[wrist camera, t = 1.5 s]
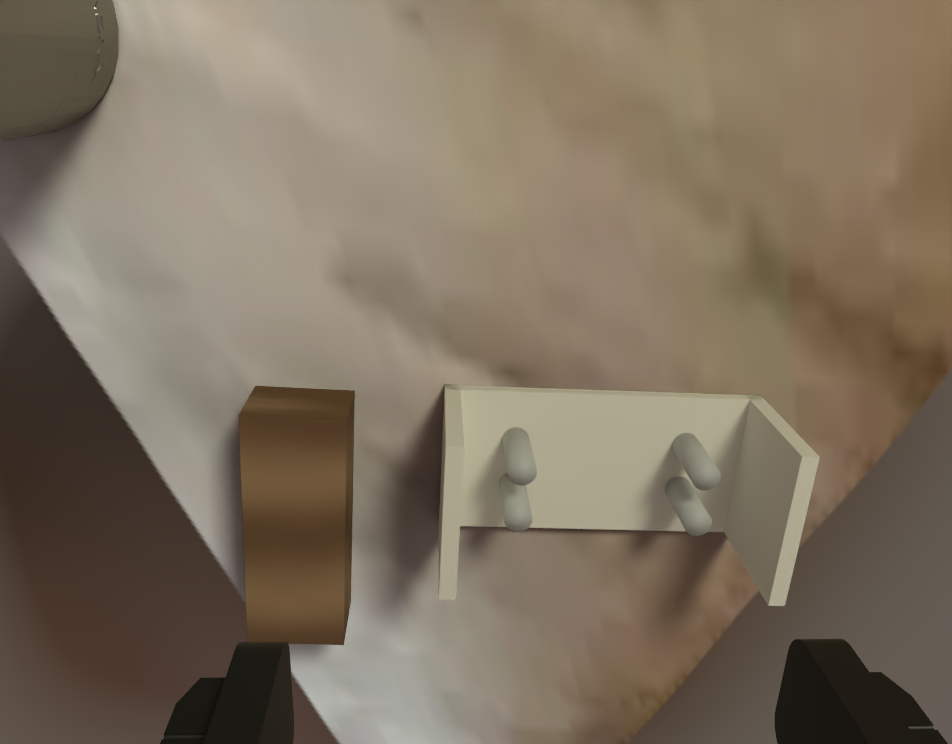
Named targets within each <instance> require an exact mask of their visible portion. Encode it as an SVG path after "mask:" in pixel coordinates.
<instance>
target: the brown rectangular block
mask: <svg viewBox="0 0 952 744" xmlns="http://www.w3.org/2000/svg"><path fill="white" fill-rule="evenodd" d="M354 398H355V391H348V390H328V389H308V388H287V387H267V386H255V388H254V390H253V391H252V393H251V395H250V397H249V398H248V400H247V402H246V404H245V406H244V407H243V409H242V411H241V413H240V414H239V439H240V465H241V491H242V517H243V543H244V568H245V594H246V620H247V642H287V643H294V644H329V645H344V639H345V633H346V627H347V621H348V615H349V609H350V603H351V564H352V509H353V453H354Z"/></svg>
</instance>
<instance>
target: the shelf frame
mask: <svg viewBox="0 0 952 744" xmlns="http://www.w3.org/2000/svg"><path fill="white" fill-rule="evenodd" d="M819 458H820V457H819V456H818V455H817V454H816V453H815V452H814V451H813V450H812V449H811V448H810V447H809V446H808V445H807V443H806V442H805V441H804V440H803V439H802V438H801V437H800V436H799V435H798V434H797V433H796V432H795V431H794V430H793V429H792V428H791V427H790V426H789V425H788V424H787V423H786V422H785V421H784V420H783V418H782V417H781V416H780V415H779V414H778V413H777V412H776V411H775V410H774V409H773V408H772V407H771V406H770V405H769V404H768V403H767V402H766V401H765V400H764V399H763V398H762V397H761V396H757V395H728V394H699V393H670V392H641V391H612V390H583V389H554V388H525V387H496V386H467V385H445V389H444V412H443V435H442V458H441V480H440V503H439V600H456V588H457V570H458V552H459V534H460V526H483V527H507V528H508V529H509V530H511V531H514V532H521V531H524V530H526V529H528V528H567V529H609V530H651V531H686V532H687V533H688V534H690V535H692V536H701V535H703V534H705V533H707V532H724V533H725V535H726V536H727V538H728V540H729V541H730V543H731V545H732V546H733V548H734V550H735V551H736V553H737V555H738V556H739V558H740V560H741V561H742V563H743V564H744V566H745V568H746V569H747V571H748V573H749V574H750V576H751V578H752V579H753V581H754V583H755V584H756V586H757V588H758V589H759V591H760V593H761V594H762V596H763V597H764V599H765V601H766V602H767V604H768V606H785V602H786V598H787V593H788V590H789V586H790V581H791V577H792V572H793V568H794V564H795V560H796V556H797V552H798V547H799V543H800V539H801V535H802V530H803V526H804V522H805V518H806V513H807V509H808V505H809V501H810V496H811V492H812V488H813V484H814V479H815V475H816V471H817V467H818V462H819Z"/></svg>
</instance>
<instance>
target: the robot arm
mask: <svg viewBox="0 0 952 744" xmlns="http://www.w3.org/2000/svg"><path fill="white" fill-rule="evenodd" d="M117 56H118V24H117V19H116V14H115V9H114V4H113V1H112V0H0V141H5V140H10V139H15V138H20V137H26V136H31V135H36V134H41V133H47V132H52V131H56V130H58V129H61V128H63V127H66V126H68V125H70V124H73V123H75V122H76V121H78V120H79V119H80V118H82V117H83V116H84V115H86V114H87V113H88V112H90V111H91V110H92V109H93V107H94V106H95V105H96V104H97V102H98V101H99V100H100V99H101V98H102V96H103V95H104V94H105V91H106V89H107V87H108V85H109V83H110V81H111V79H112V77H113V75H114V70H115V65H116V61H117ZM291 682H292V681H291V666H290V652H289V646H288V643H287V642H240V643H239V644H238V645H237V647H236V649H235V651H234V654H233V657H232V660H231V664H230V666H229V669H228V673H227V675H226V678H200V679H199V680H198V681H197V682H196V683H195V684H194V685H193V686H192V688H191V689H190V690H189V691H188V692H187V693H186V694H185V695H184V696H183V697H182V698H181V699H180V700H179V701H178V702H177V703H176V705H175V708H174V711H173V713H172V716H171V718H170V720H169V723H168V725H167V728H166V730H165V733H164V739H163V740H161V743H160V744H293V737H294V711H293V698H292V697H293V696H292V683H291ZM775 731H776V738H777V743H778V744H948V743H947V742H946V741H945V740H944V738H943V737H942V736H941V734H940V733H939V732H938V730H934V728H933V724H932V722H931V721H930V720H929V718H928V717H927V716H926V714H925V713H924V712H923V711H922V709H921V708H920V706H919V705H918V704H917V702H916V701H915V700H914V698H913V697H912V696H911V695H910V694H908V693H907V692H906V691H904V690H903V689H902V688H901V687H899V686H898V685H897V684H896V683H894V682H893V681H892V680H890V679H889V678H888V677H887V676H885V675H884V674H883V673H881V672H869V671H868V670H867V668H866V667H865V666H864V664H863V663H862V661H861V660H860V658H859V657H858V656H857V654H856V653H855V651H854V650H853V649H852V647H851V646H850V645H849V644H848V643H847V642H846V641H845V640H843V639H796V640H794V641H793V642H792V643H791V645H790V647H789V650H788V655H787V659H786V664H785V669H784V673H783V678H782V683H781V688H780V692H779V697H778V702H777V706H776V711H775Z"/></svg>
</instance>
